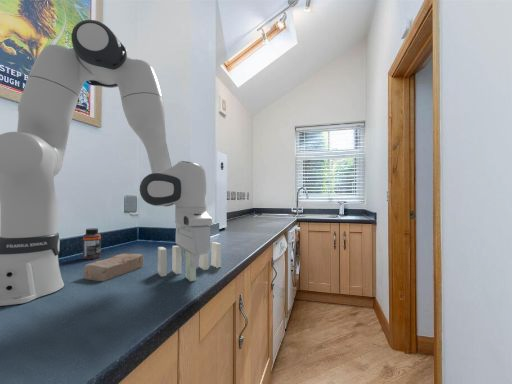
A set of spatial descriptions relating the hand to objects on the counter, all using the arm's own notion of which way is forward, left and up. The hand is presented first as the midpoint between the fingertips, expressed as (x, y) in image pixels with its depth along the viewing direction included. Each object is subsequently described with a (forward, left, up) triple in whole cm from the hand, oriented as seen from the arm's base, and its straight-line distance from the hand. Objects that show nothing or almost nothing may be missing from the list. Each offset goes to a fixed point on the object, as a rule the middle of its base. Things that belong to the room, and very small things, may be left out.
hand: (190, 264), depth 79 cm
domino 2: (-1, +9, -4) cm, 10 cm away
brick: (-18, +19, -5) cm, 27 cm away
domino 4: (+12, +9, -4) cm, 16 cm away
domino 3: (+8, +9, -4) cm, 12 cm away
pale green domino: (0, 0, -4) cm, 4 cm away
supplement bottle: (-24, +45, -4) cm, 51 cm away
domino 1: (-6, +9, -4) cm, 12 cm away
